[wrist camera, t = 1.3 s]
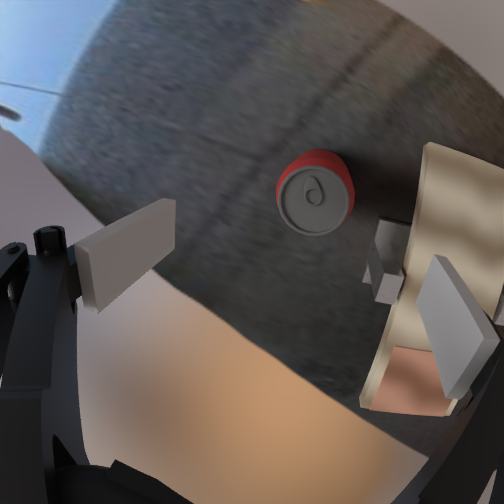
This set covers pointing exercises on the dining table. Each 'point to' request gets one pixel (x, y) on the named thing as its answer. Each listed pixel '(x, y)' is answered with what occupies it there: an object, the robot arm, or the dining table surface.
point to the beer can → (315, 193)
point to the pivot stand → (396, 263)
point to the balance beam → (417, 264)
